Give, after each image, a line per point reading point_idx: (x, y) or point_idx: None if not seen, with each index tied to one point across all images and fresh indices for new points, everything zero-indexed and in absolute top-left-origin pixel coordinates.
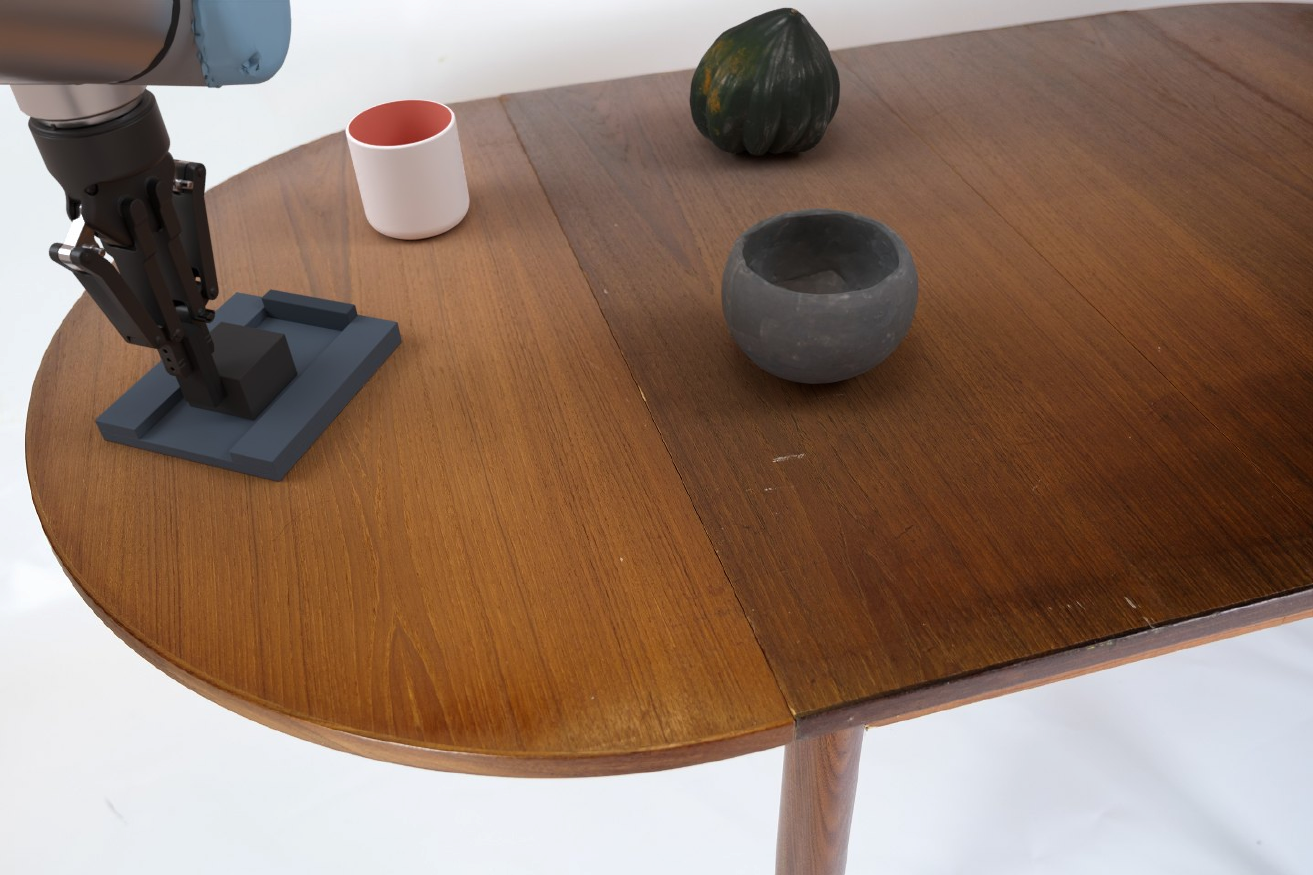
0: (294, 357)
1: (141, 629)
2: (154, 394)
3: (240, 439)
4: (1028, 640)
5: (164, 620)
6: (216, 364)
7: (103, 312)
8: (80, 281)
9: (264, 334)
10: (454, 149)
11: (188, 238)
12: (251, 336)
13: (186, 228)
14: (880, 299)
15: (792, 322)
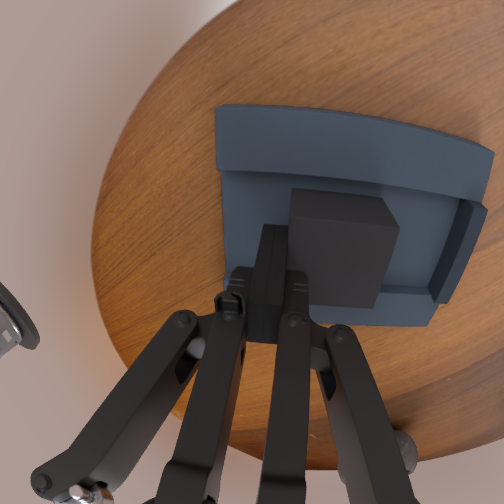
0: (392, 255)
1: (94, 274)
2: (285, 151)
3: None
4: (249, 453)
5: (104, 282)
6: (305, 268)
7: (128, 369)
8: (82, 432)
9: (371, 291)
10: None
11: (344, 449)
12: (367, 280)
13: (350, 465)
14: None
15: (341, 473)
